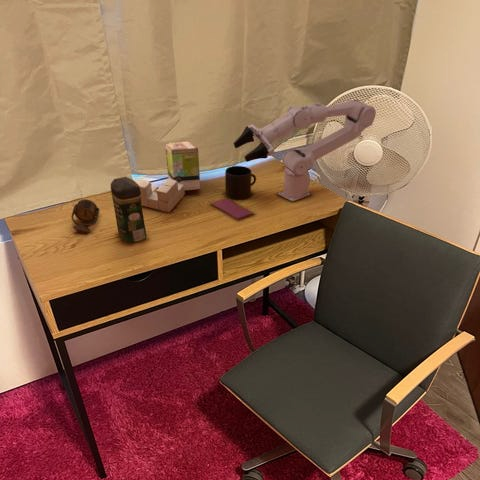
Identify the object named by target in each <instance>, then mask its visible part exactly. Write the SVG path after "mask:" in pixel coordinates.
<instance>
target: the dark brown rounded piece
mask: <svg viewBox="0 0 480 480" xmlns="http://www.w3.org/2000/svg"><path fill="white" fill-rule="evenodd" d="M100 211H101V210H100V208H99V207H98V206H97V204H96V203H95V201H92V200H91V199H87V198H84V199H80V200H78V202H77V203H75V204H74V207H73V210H72V213H71V220H72V222H73V224H74V225H73V227H72V229H73V230H74V231H76V232H77V233H80V234H86V233H90V231H91V227H93V226H95V225H96V224H97V222H98V219H99V216H100ZM74 216H75V217H76V219H77V220H78V221H80V222H82V223H79V222H77V220H75V219H74ZM85 223H87V224H85Z"/></svg>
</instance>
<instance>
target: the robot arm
mask: <svg viewBox="0 0 480 480" xmlns="http://www.w3.org/2000/svg"><path fill="white" fill-rule="evenodd" d="M376 114H377V111H376V109H375V107H374V106H372V105H369V104H366V103H365V102H363V101H361V100H359V99H349V100H348V101H344V102H340V103H335V104H331V105H327V106H326V105H325V104H323V103H321V102H320V101H317V102H315V104H312V105H306V104H304V105H302V106H301V107H300V106H298V105H294V106H289V107H288V109H287V110H286V112H285V113H284V114H283V115H281V116H279V117H278V118H276V119H275V120H274V121H272V122H270V123H269V124H267V125H265V126H264V127H262V128H260V127H259V128H258V127H257V126H255V125H254V124H253V123H250V124H249V125H246V126H245V128H244V130H243V131H242V133H241V135H240V136H239V137H237V139H236V140H235V141H234V142H233V146H234V148H235V149H237V148H238V149H239V148H240V147H241V146H245V145H246V144H249V143H253V142H255V139H256V140H257V142H258V143H259V144H258V145H257V146H256V147H255V148H254V149H252V150H251V151H249V153H247V154H246V155H244V160H245V162H246V163H247V162H252V161H255V160H259V159H260V160H261V159H268V156H269V157H270V156H273V155H274V154H275V153H276V152H275V148H274V147H273V146H272V145H271V144H273V143H275V142H276V141H278V140H280V139H281V138H283V137H285V136H286V135H288V134H290V133H291V132H294V130H296V129H305V128H306V127H307V126H308V125H313V124H314V125H315V124H319V123H324V122H325V121H326V119H327V118H332V117H333V118H334V117H341V116H342V117H343V116H344V118H345V119H344V126H343V127H342V128H340V129H338V130H336V131H334V132H333V133H330V134H329V135H326V136H325V137H323V138H321V139H319V140H317V141H315V142H314V143H312V144H310V145H307V146H306V147H303V146H302V147H297V148H295V149H288V150H286V151H285V152H284V153H283V155H282V157H281V163H282V165H284V174H283V186H282V191H279V192H278V193H277V195H278V196H280V197H282V198H284V199H286V200H288V201H290V202H295V201H298V200H300V199H303V198H305V197H309V196H310V195H311V193H310V192H309V191H310V185H311V184H310V182H311V175H310V172H309V170H310V169H311V168H313V167H314V162H315V161H317V160H319V159H320V158H322V157H324V156H327V155H328V154H330V153H332V152H334V151H336V150H337V149H339V148H341V147H343V146H345V145H347V144H348V143H350V142H352V141H354V140H356V139H357V138H358V137H359V136H360V135H361V134H362V133H363V132H364V131H365V129H367V128H370V127H371V126H372V125H373V123H374V121H375V118H376ZM254 138H255V139H254Z"/></svg>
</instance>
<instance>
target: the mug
mask: <svg viewBox="0 0 480 480" xmlns="http://www.w3.org/2000/svg"><path fill="white" fill-rule="evenodd" d="M224 175H225V178H224V179H225V180H224V183H225V191H224V192H225V196H226V197H227V198H229V199H231V200H244V199H248V198H249V197H250V196H251V195H252V186H254V185H255V184H256V182H257V177H256V175H255V174H254V173H252V169H251V168H249V167H247V166H243V165H235V166H234V165H233V166H228V167H227V168H225V173H224ZM252 177H253V181H252Z"/></svg>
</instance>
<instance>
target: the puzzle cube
mask: <svg viewBox="0 0 480 480" xmlns="http://www.w3.org/2000/svg"><path fill="white" fill-rule="evenodd" d="M137 184H138V185H139V187H140V191H141V203H142V207H146V208H150V209H154V210H157V211H161V212H165V213H170V212H171V211H172V210H173V208H174V207H176V205H177V204H178V203H179V202H180V200H181V199H182V198H183V197H184V196H185V194H186V192H185V191H186V190H184V185H182V184H178V183H177V181H176V180H171V179H168V178H166V180H165V181H164V182H162V184H161V185H157V184H152V182H151V181H148V180H144V179H141V180H140V181H138V182H137Z"/></svg>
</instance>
